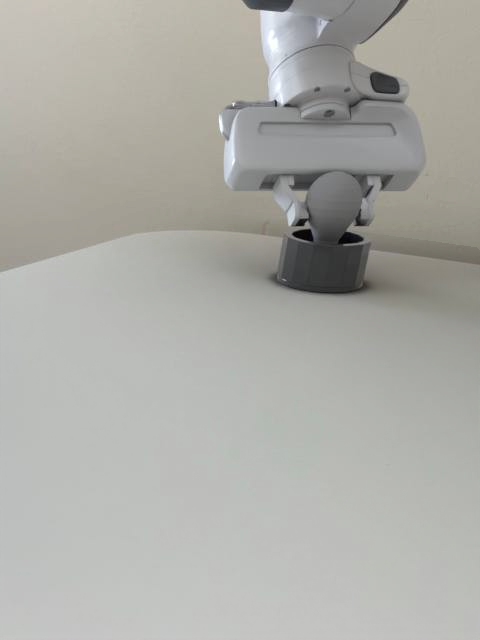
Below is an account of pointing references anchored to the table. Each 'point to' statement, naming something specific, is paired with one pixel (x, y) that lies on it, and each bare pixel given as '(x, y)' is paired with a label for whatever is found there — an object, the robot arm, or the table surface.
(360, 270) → the socket
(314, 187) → the light bulb
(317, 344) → the table surface
